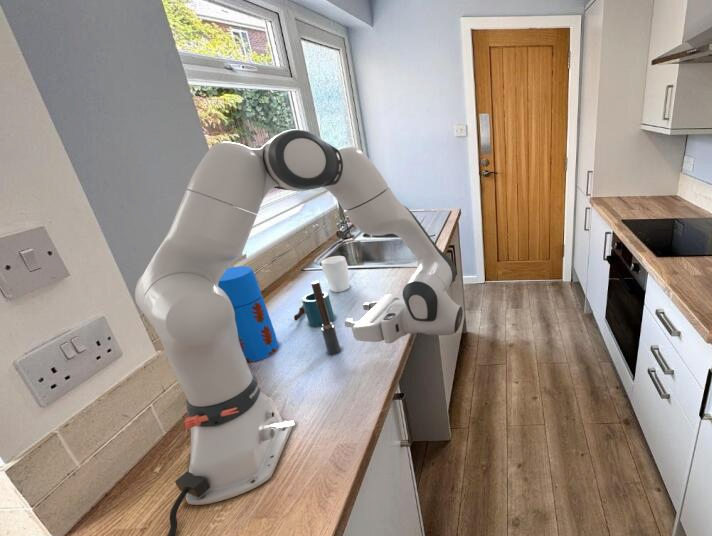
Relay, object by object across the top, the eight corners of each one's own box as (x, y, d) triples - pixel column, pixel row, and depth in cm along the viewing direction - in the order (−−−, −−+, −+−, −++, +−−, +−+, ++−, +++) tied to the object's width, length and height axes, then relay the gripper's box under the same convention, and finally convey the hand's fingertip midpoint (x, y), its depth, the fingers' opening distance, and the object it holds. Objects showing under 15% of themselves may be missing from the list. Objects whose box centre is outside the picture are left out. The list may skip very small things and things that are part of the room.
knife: (308, 300, 149) (306, 293, 148) (313, 299, 149) (311, 292, 148) (294, 324, 133) (291, 316, 132) (299, 324, 133) (296, 316, 132)
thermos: (260, 363, 113) (229, 282, 102) (228, 360, 115) (195, 280, 105) (287, 342, 123) (261, 266, 112) (257, 340, 125) (229, 265, 114)
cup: (343, 282, 163) (337, 254, 158) (357, 286, 158) (350, 258, 153) (323, 290, 157) (315, 261, 152) (336, 295, 152) (329, 266, 147)
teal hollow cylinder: (334, 323, 132) (327, 298, 129) (308, 328, 130) (301, 303, 126) (334, 312, 139) (328, 289, 135) (309, 317, 137) (302, 294, 133)
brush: (340, 352, 116) (321, 283, 107) (328, 355, 115) (307, 286, 106) (340, 346, 119) (322, 278, 110) (328, 349, 118) (308, 281, 109)
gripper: (416, 289, 115) (372, 287, 118) (383, 325, 97) (331, 322, 99) (419, 308, 118) (376, 306, 120) (387, 347, 100) (337, 344, 102)
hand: (355, 314), depth 110 cm, fingers open, 8 cm apart
